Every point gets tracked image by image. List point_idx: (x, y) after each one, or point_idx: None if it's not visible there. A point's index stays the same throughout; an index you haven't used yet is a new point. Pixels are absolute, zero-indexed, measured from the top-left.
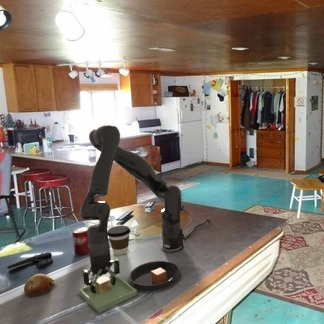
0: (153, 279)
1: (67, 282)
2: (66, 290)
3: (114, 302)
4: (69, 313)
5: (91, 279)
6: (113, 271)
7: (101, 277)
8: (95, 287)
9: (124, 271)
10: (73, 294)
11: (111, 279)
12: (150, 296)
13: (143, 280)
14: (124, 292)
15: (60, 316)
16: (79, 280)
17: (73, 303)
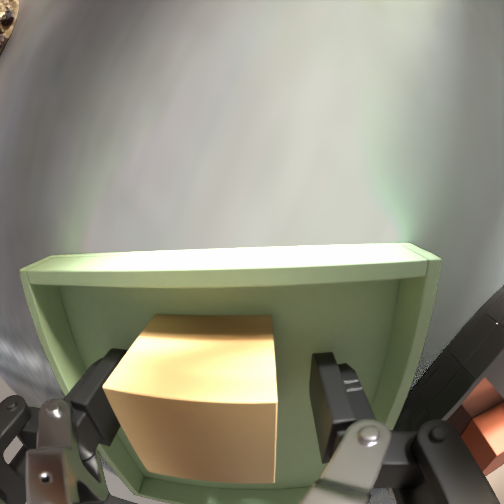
0: (470, 440)
1: (65, 12)
2: (15, 123)
3: (216, 500)
4: (28, 384)
5: (52, 445)
6: (394, 465)
7: (205, 403)
8: (119, 426)
9: (497, 163)
10: (25, 217)
11: (320, 415)
12: (371, 491)
13: (466, 399)
14: (318, 458)
15: (5, 370)
16: (126, 11)
17: (27, 328)
